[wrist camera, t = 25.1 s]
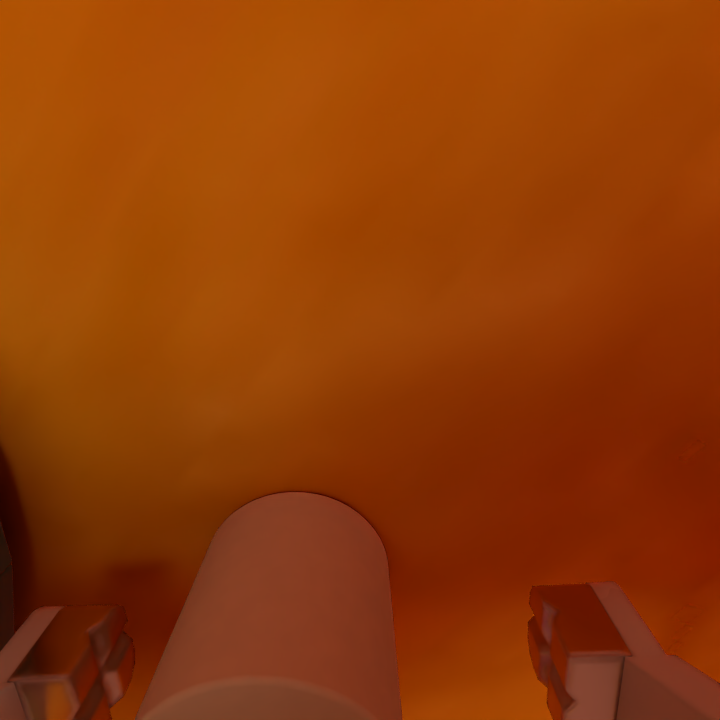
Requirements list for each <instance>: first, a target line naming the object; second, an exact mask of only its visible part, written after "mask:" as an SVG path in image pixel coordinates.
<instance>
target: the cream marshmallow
mask: <svg viewBox="0 0 720 720" xmlns="http://www.w3.org/2000/svg"><path fill="white" fill-rule="evenodd" d="M135 720H402V710H401V699H400V688H399V678H398V667H397V656H396V645H395V634H394V623H393V612H392V601H391V590H390V579H389V568H388V559H387V555H386V551H385V548H384V546H383V544H382V541H381V539H380V538H379V536H378V534H377V533H376V531H375V530H374V529H373V527H372V526H371V525H370V524H369V523H368V522H367V520H365V519H364V518H363V517H362V516H361V515H360V514H359V513H358V512H356V511H355V510H353V509H352V508H350V507H349V506H347V505H345V504H343V503H341V502H339V501H337V500H334V499H332V498H329V497H326V496H322V495H318V494H313V493H306V492H285V493H277V494H272V495H268V496H264V497H262V498H259V499H256V500H254V501H252V502H250V503H248V504H246V505H244V506H242V507H241V508H239V509H238V510H236V511H235V512H234V513H232V514H231V515H230V516H229V517H228V518H227V519H226V520H225V521H224V522H223V523H222V525H221V526H220V527H219V528H218V530H217V531H216V533H215V535H214V536H213V538H212V541H211V543H210V545H209V548H208V550H207V552H206V555H205V557H204V559H203V562H202V564H201V566H200V569H199V571H198V573H197V576H196V578H195V580H194V583H193V585H192V587H191V590H190V592H189V594H188V597H187V599H186V601H185V604H184V606H183V608H182V611H181V613H180V615H179V618H178V620H177V622H176V624H175V627H174V629H173V631H172V634H171V636H170V638H169V641H168V643H167V645H166V648H165V650H164V652H163V655H162V657H161V659H160V662H159V664H158V666H157V669H156V671H155V673H154V676H153V678H152V680H151V683H150V685H149V687H148V690H147V692H146V694H145V697H144V699H143V701H142V704H141V706H140V708H139V711H138V713H137V715H136V717H135Z"/></svg>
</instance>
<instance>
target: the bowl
mask: <svg viewBox="0 0 720 720" xmlns="http://www.w3.org/2000/svg"><path fill="white" fill-rule="evenodd" d="M11 563H12V557H11V553H10V550H9V547H8V543H7V540H6V537H5V533H4V530H3V527H2V524H1V520H0V651H1V650H2V649H3V648H4V646H5V645H6V644H7V643H8V641H9V640H10V639H11V638H12V636H13V635H14V634H15V617H14V585H13V565H12V564H11Z"/></svg>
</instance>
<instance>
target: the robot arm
mask: <svg viewBox="0 0 720 720" xmlns="http://www.w3.org/2000/svg"><path fill="white" fill-rule="evenodd" d="M529 604H530V607H531V609H532V611H533V614H534V616H533V617H532V618H531V619H530V620H529V621H528V644H529V652H530V656H531V660H532V664H533V667H534V670H535V673H536V676H537V679H538V680H539V681H540V682H542V683H543V684H544V685H545V686H546V687H547V688H548V689H547V706H548V708H549V711H550V713H551V716H552V719H553V720H720V683H718V682H716V681H715V680H713V679H712V678H710V677H709V676H707V675H706V674H704V673H703V672H701V671H699V670H698V669H696V668H695V667H693V666H692V665H690V664H689V663H687V662H686V661H684V660H683V659H681V658H679V657H678V656H676V655H666V653H665V652H664V650H663V649H662V647H661V646H660V644H659V643H658V642H657V640H656V639H655V637H654V636H653V634H652V633H651V631H650V630H649V628H648V627H647V625H646V624H645V623H644V621H643V620H642V618H641V617H640V615H639V614H638V612H637V611H636V609H635V608H634V607H633V605H632V604H631V602H630V601H629V599H628V598H627V596H626V595H625V593H624V592H623V590H622V589H621V588H620V586H619V585H618V584H617V583H615V582H614V581H606V582H590V583H585V584H584V583H578V584H559V585H540V586H532V588H531V590H530V597H529ZM127 621H128V619H127V616H126V613H125V609H124V607H123V606H121V605H118V604H113V605H67V606H41V607H40V608H38V609H36V610H34V611H33V612H32V613H31V614H30V615H29V617H28V618H27V619H26V620H25V622H24V623H23V624H22V625H21V627H20V628H19V629H18V630H17V631H16V633H15V634H14V635H13V636H12V638H11V639H10V640H9V641H8V643H7V644H6V645H5V646H4V648H3V649H2V650H1V651H0V720H112V717H111V713H110V708H111V707H112V706H113V705H114V704H115V703H116V702H118V701H119V700H120V699H121V698H122V697H123V696H124V695H125V693H126V690H127V688H128V686H129V684H130V682H131V678H132V674H133V669H134V665H135V648H134V644H133V639H132V638H131V637H130V636H128V635H127V634H126V633H125V632H124V631H123V628H124V627H125V625H126V623H127Z"/></svg>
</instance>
